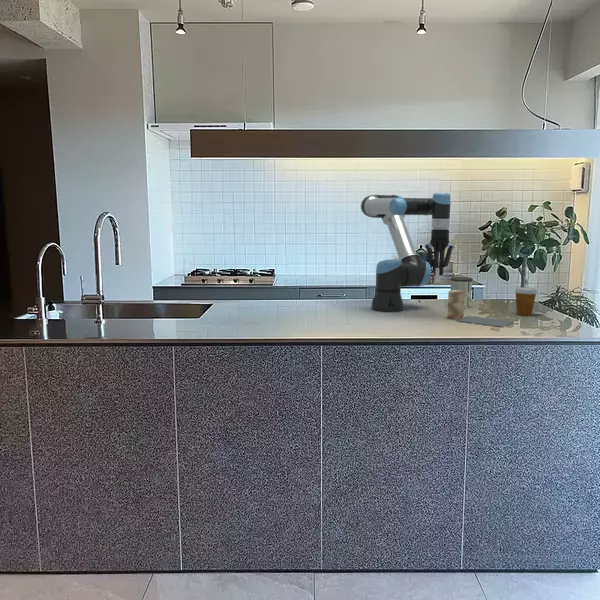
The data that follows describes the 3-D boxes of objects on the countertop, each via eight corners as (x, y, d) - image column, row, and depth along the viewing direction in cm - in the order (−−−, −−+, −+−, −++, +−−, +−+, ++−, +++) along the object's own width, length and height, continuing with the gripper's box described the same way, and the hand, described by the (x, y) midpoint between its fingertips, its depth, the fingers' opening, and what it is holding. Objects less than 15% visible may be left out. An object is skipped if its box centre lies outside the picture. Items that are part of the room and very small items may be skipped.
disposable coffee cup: (535, 313, 259) (537, 287, 257) (534, 317, 250) (536, 290, 248) (513, 311, 263) (515, 286, 261) (512, 315, 254) (514, 289, 252)
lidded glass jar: (447, 304, 282) (449, 276, 280) (468, 305, 281) (470, 277, 279) (451, 308, 272) (452, 279, 270) (473, 308, 271) (474, 279, 269)
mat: (455, 321, 239) (455, 320, 239) (467, 316, 250) (467, 315, 250) (503, 327, 227) (503, 326, 227) (513, 322, 238) (514, 321, 238)
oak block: (447, 318, 245) (448, 291, 243) (452, 316, 250) (453, 289, 248) (458, 319, 242) (459, 292, 240) (463, 317, 247) (464, 290, 245)
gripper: (422, 228, 246) (420, 282, 250) (451, 229, 238) (448, 284, 242) (429, 228, 252) (427, 280, 256) (457, 229, 244) (455, 282, 248)
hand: (438, 282), depth 249 cm, fingers closed
